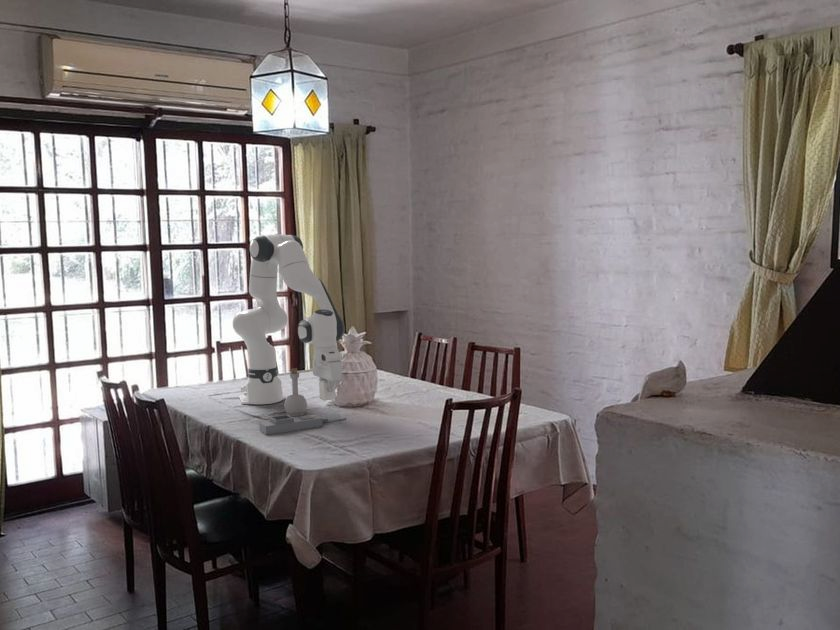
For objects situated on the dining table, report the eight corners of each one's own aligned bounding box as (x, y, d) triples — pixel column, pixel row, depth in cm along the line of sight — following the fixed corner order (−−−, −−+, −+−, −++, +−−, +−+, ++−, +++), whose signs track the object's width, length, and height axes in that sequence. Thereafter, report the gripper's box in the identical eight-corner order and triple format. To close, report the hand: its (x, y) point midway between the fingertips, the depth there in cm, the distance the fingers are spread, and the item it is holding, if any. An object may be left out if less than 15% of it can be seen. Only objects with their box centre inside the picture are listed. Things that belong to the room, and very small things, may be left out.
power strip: (259, 430, 279) (259, 418, 279) (324, 421, 291) (324, 409, 291) (265, 434, 273) (265, 422, 273) (331, 424, 285) (331, 412, 284)
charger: (319, 398, 294) (319, 379, 294) (331, 397, 297) (330, 378, 296) (324, 400, 290) (323, 381, 290) (335, 399, 293) (334, 380, 292)
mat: (310, 418, 296) (310, 416, 296) (335, 414, 301) (335, 413, 301) (320, 423, 288) (320, 421, 288) (345, 419, 292) (345, 418, 292)
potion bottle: (285, 417, 299) (283, 370, 297) (284, 412, 308) (282, 366, 306) (308, 415, 301) (306, 369, 299) (307, 410, 309) (305, 365, 307)
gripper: (307, 351, 299) (309, 387, 301) (328, 357, 282) (329, 396, 283) (323, 349, 302) (324, 385, 304) (344, 356, 285) (346, 393, 286)
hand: (327, 390), depth 293 cm, fingers closed on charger, 4 cm apart
